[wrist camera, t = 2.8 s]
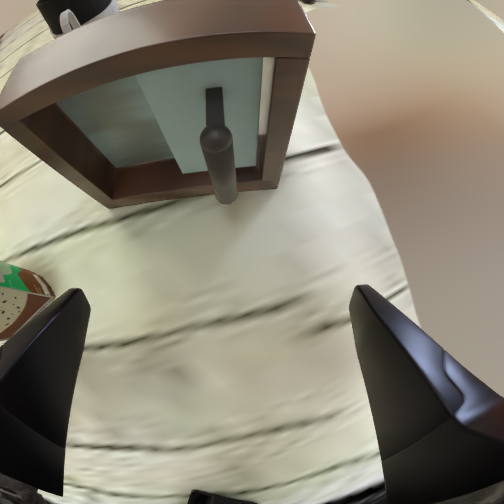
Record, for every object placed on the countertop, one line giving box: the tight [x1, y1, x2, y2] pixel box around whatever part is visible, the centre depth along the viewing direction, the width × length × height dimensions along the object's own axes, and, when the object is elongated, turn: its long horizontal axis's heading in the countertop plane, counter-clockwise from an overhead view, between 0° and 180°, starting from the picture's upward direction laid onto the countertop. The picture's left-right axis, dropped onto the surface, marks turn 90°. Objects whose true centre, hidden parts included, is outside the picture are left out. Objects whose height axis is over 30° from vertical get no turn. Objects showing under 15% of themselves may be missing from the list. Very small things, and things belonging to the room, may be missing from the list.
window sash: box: [136, 57, 263, 204], centre depth 14 cm, size 6×4×11 cm
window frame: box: [0, 0, 316, 209], centre depth 15 cm, size 15×4×15 cm, turn 96°
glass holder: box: [36, 0, 120, 39], centre depth 17 cm, size 9×14×15 cm, turn 23°
